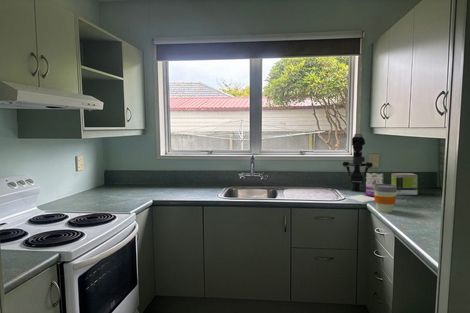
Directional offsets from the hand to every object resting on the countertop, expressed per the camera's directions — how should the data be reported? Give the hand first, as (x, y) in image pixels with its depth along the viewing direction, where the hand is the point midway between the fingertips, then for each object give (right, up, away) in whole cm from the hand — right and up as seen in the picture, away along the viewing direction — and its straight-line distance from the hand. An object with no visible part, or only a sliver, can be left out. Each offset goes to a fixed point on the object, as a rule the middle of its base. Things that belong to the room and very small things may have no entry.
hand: (357, 177), depth 223 cm
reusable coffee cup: (+6, -18, -27) cm, 33 cm away
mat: (+5, -15, +5) cm, 17 cm away
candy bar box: (+16, -14, +11) cm, 24 cm away
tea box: (+42, -14, +21) cm, 49 cm away
